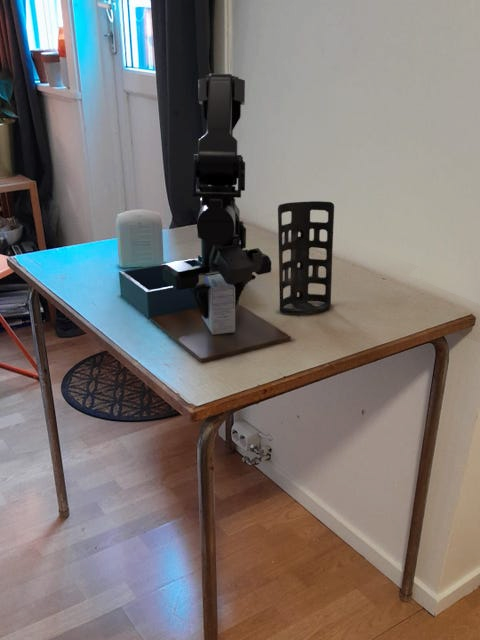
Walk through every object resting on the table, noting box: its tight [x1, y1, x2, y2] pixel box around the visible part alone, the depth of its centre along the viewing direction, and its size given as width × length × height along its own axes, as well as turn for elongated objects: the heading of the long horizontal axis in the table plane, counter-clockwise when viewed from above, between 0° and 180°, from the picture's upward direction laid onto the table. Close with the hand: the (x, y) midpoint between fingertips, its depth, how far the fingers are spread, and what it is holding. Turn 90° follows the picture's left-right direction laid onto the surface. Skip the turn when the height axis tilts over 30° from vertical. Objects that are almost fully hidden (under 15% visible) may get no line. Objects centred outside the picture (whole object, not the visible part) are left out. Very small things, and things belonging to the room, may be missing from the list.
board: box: [149, 302, 292, 364], centre depth 119 cm, size 18×20×1 cm
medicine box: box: [202, 274, 235, 335], centre depth 117 cm, size 8×4×9 cm, turn 16°
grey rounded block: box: [115, 209, 165, 268], centre depth 147 cm, size 10×4×12 cm, turn 103°
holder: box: [277, 200, 335, 315], centre depth 124 cm, size 11×8×20 cm
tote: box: [118, 257, 202, 320], centre depth 131 cm, size 18×14×5 cm
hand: (218, 315), depth 118 cm, fingers closed on medicine box, 5 cm apart
